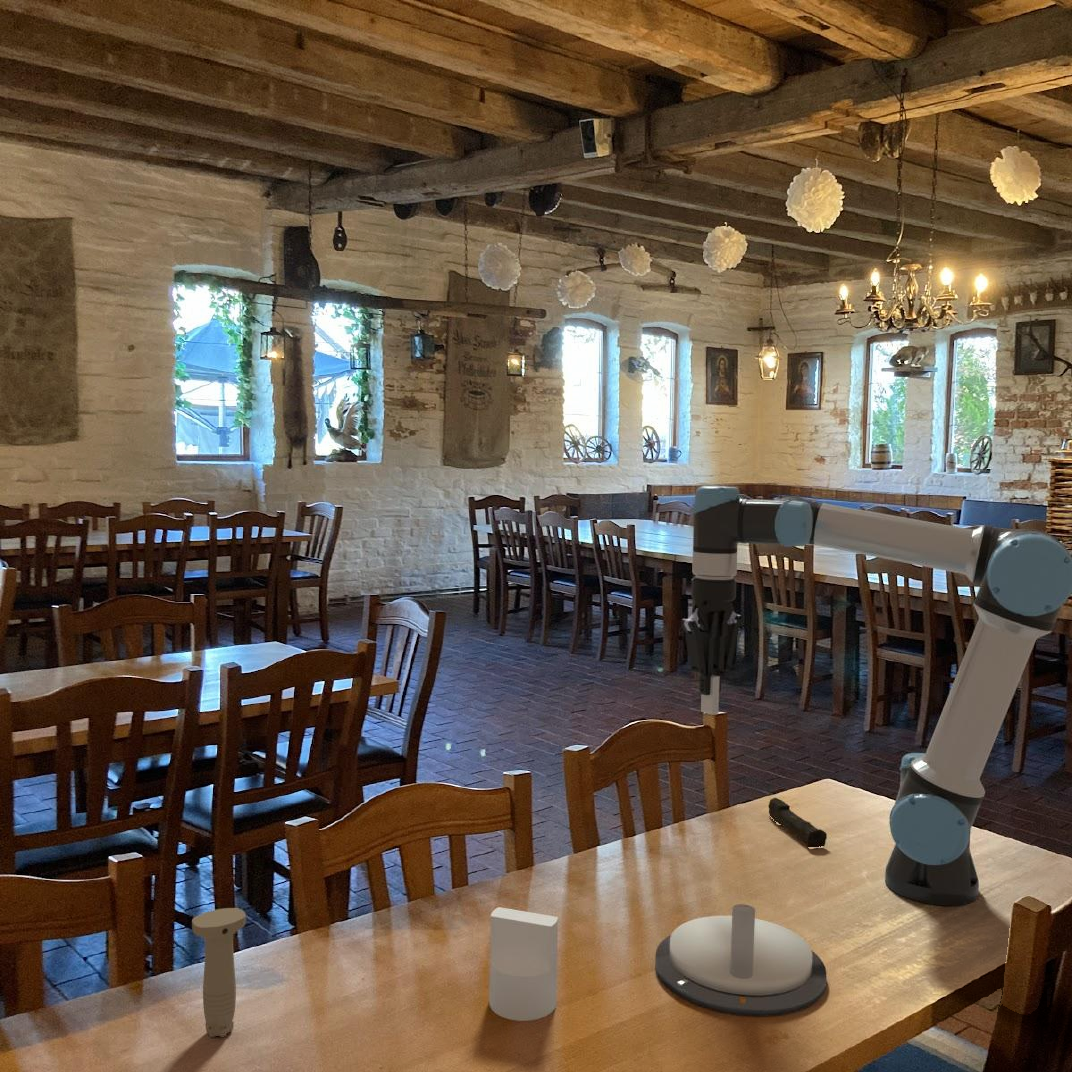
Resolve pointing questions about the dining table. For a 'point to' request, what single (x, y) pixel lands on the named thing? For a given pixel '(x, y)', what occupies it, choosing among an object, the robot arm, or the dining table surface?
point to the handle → (219, 966)
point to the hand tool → (796, 824)
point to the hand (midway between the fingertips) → (709, 712)
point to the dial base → (736, 1002)
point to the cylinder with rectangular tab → (523, 964)
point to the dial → (741, 954)
